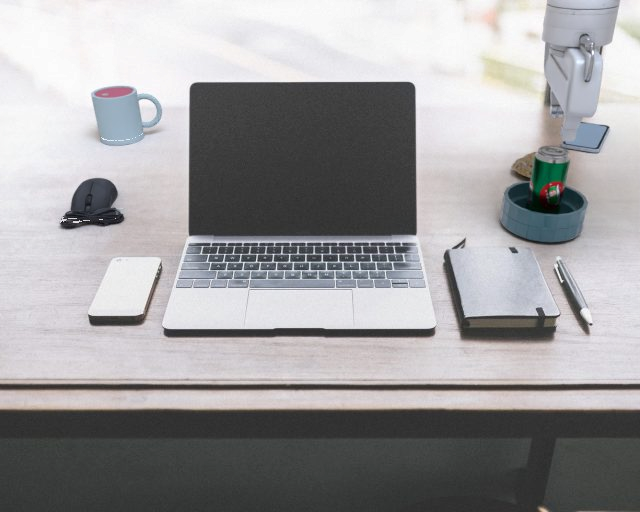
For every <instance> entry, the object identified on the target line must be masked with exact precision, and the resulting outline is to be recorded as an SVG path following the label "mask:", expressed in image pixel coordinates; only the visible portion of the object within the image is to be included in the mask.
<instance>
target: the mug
mask: <svg viewBox="0 0 640 512" xmlns="http://www.w3.org/2000/svg"><path fill="white" fill-rule="evenodd" d="M90 96H91V101H92V106H93V111H94V116H95V120H96V124H97V129H98V134H99V139H100V142H101V143H102V144H103V145H106V146H128V145H133V144H135V143H138V142H140V141H142V140H143V139H144V138H145V131H144V132H143V130H144V129H145V128H146V129H148V128H152V127H155V126H157V124H159V122H160V121H161V119H162V117H163V108H162V104H161V103H160V101H159V100H158V99H157V97H155V96H154V95H152V94H150V93H145V92H144V93H143V92H142V93H138V91H137V87H134V86H131V85H109V86H104V87H100V88H97V89H95V90H93V91H92V92H90ZM141 100H148V101H150V102H151V103H152V104H153V105H154V106H155V109H156V115H155V117H154V118H153V119H152V120H150V121H146V122H145V121H143V120H142V114H141V113H142V112H141V109H140V102H139V101H141ZM142 133H143V134H142ZM141 134H142V135H141ZM139 135H140V136H139ZM100 136H101V137H102V138H104V139H107V140H114V141H107V140H103V139H102V138H100ZM135 137H136V138H135ZM132 138H133V139H132ZM126 139H130V140H126ZM115 140H117V141H115ZM118 140H124V141H118Z"/></svg>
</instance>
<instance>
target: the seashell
mask: <svg viewBox="0 0 640 512" xmlns="http://www.w3.org/2000/svg"><path fill="white" fill-rule="evenodd" d="M537 152H538V150H537V151H533V152H530V153H527V154H526V155H524V156H522V157H520V158H517V159H515V162H514V163H513V164H512V165H511V169H512V170H513V171H514V172H516V173H518V174H519V175H520V176H524V177H526V178H528V179H530V178H531V173H532V167H533V161H534V156H535V154H536V153H537Z"/></svg>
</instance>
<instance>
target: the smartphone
mask: <svg viewBox="0 0 640 512" xmlns="http://www.w3.org/2000/svg"><path fill="white" fill-rule="evenodd" d="M610 129H611V126H610V125H607V124H606V125H605V124H602V123H601V124H600V123H594V122H593V123H592V122H586V121H581V123H580V125H579V127H578V129H577V133H576V138H575V140H574V141H563V140H561V141H562V142H561V143H560V147H563V148H565V149H567V150H568V149H569V150H575V151H582V152H588V153H592V154H593V153H594V154H596V153H600V151H601V149H602V147H603V145H604V142H606V141H605V140H606V138H607V136H608V135H609V132H610Z"/></svg>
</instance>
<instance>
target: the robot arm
mask: <svg viewBox="0 0 640 512" xmlns="http://www.w3.org/2000/svg"><path fill="white" fill-rule="evenodd" d="M620 3H621V0H546V7H545V12H544V17H543V21H542V22H543V23H542V33H541V40H542V41H543V42H544V57H543V75H544V78H545V80H546V82H547V83H548V85H549V87H550V90H549V91H550V93H549V94H550V105H549V112H548V113H549V116H550V117H551V118H552V119H562V118H563V117H564V118H563V122H562V125H561V126H560V132H559V137H560V139H561V141H574V140H575V138H576V133H577V129H578V127H579V125H580V123H581V122H583V121H582V120H583V119H584V118H585V119H587V118H588V119H589V118H592V117H594V116H595V114H596V112H597V110H598V106H599V101H600V100H599V98H600V92H601V87H602V80H603V70H604V60H603V56H602V55H601V54H600V51H601V48H602V47H605V46H607V45H610V44H611V43H612V42H613V39H614V35H615V34H614V33H615V29H616V24H617V19H618V15H619V9H620Z"/></svg>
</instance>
